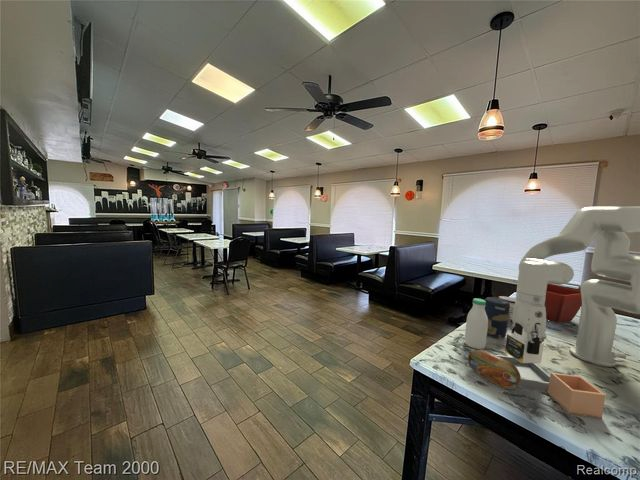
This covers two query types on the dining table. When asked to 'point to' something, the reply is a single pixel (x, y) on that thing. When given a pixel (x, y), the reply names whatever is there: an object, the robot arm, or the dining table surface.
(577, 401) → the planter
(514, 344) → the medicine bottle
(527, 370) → the grey square tray
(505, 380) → the tin
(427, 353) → the dining table surface
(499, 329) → the canister
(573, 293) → the plant pot
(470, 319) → the milk bottle
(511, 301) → the can
